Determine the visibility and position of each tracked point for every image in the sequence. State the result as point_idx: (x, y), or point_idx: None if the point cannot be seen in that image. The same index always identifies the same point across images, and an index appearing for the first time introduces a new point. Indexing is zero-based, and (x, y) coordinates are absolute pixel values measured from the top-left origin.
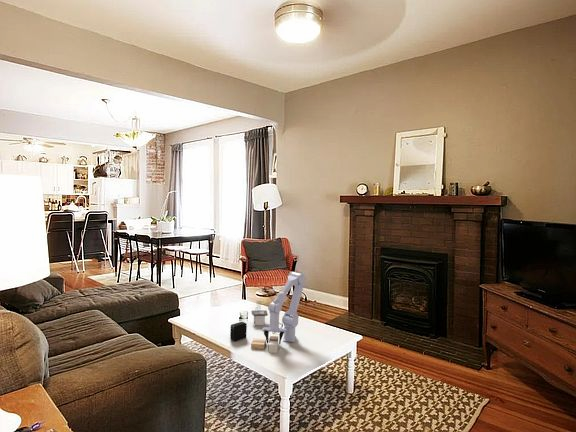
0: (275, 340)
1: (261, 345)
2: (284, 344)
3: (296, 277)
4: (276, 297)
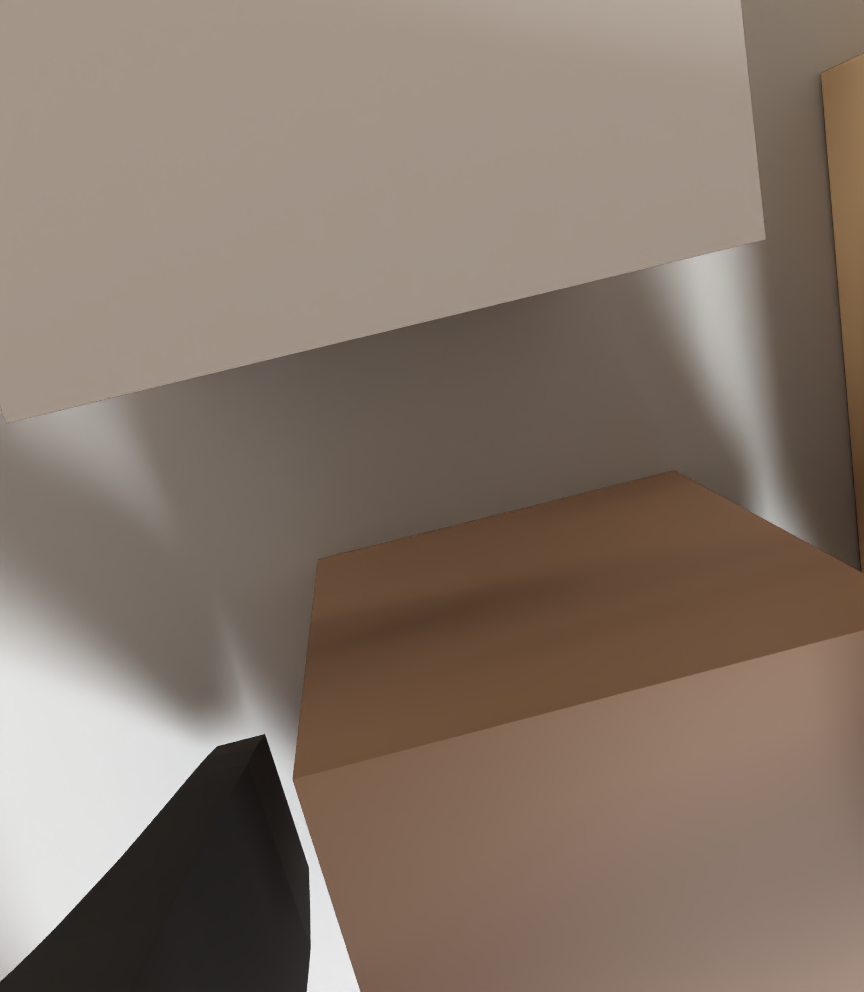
0: (430, 696)
1: None
2: None
3: None
4: None
